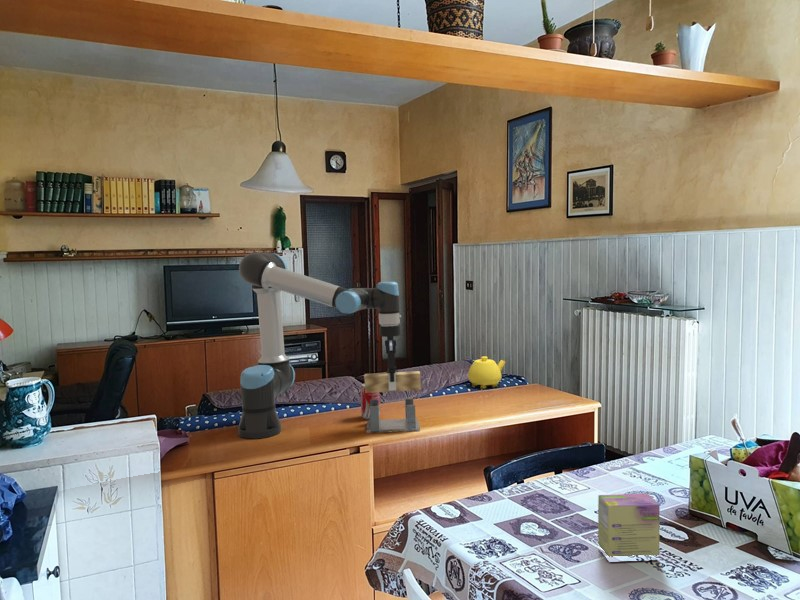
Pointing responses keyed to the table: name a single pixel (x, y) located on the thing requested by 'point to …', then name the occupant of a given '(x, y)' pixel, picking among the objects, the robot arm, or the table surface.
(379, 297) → the robot arm
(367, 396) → the soda can
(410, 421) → the bracket mount
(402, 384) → the rail
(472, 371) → the teapot
